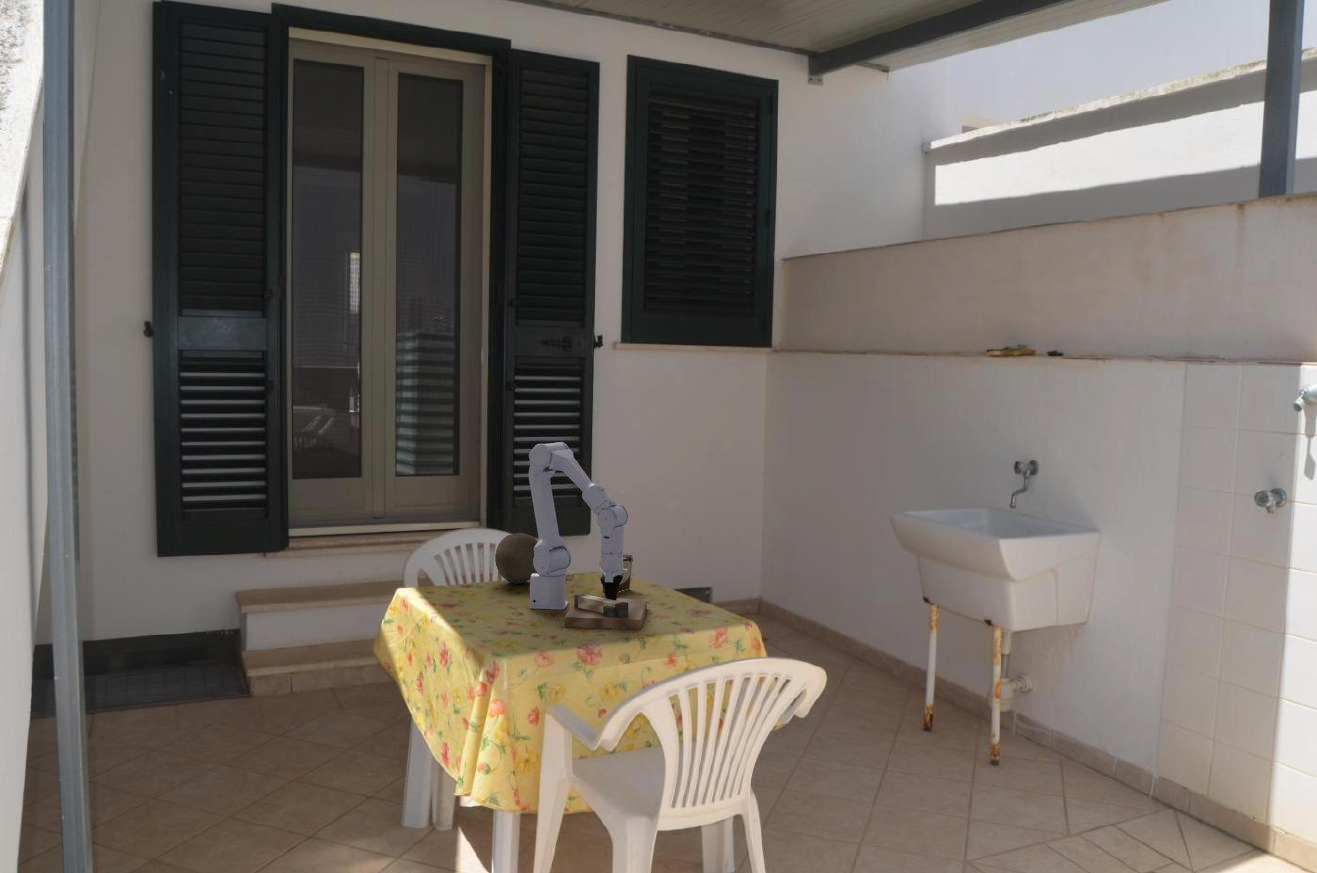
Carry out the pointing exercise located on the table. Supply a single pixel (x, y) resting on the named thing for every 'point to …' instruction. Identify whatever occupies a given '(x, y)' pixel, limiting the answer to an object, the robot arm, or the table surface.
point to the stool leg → (600, 604)
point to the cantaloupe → (516, 557)
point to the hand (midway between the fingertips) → (611, 604)
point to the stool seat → (608, 616)
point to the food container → (626, 576)
